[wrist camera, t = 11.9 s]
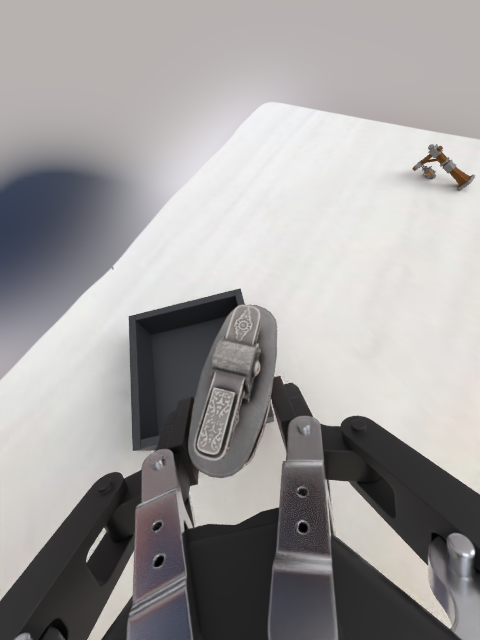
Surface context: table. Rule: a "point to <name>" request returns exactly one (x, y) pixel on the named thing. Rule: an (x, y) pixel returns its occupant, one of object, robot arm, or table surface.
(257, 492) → the table surface
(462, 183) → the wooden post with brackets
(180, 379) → the desk bin
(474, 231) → the table surface
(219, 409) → the lighter
